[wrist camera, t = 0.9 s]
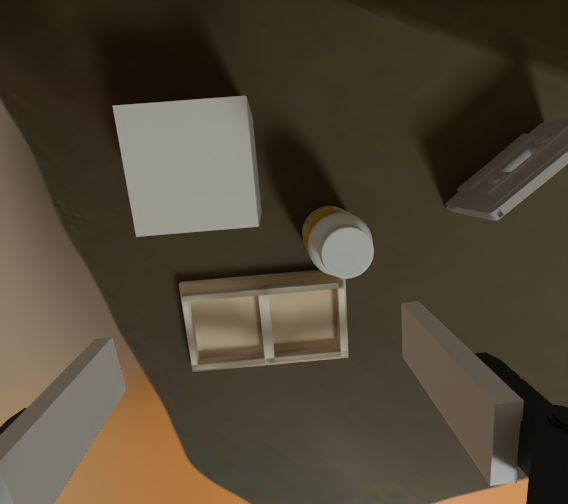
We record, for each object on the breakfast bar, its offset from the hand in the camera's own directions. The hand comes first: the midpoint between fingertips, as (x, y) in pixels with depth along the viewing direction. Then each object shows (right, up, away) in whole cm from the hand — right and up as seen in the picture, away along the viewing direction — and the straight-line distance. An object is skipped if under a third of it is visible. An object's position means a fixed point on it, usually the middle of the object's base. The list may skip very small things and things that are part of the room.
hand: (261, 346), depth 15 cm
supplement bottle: (+5, +6, +19) cm, 21 cm away
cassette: (+22, +13, +19) cm, 32 cm away
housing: (-6, +12, +17) cm, 22 cm away
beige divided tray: (-1, -3, +21) cm, 21 cm away
